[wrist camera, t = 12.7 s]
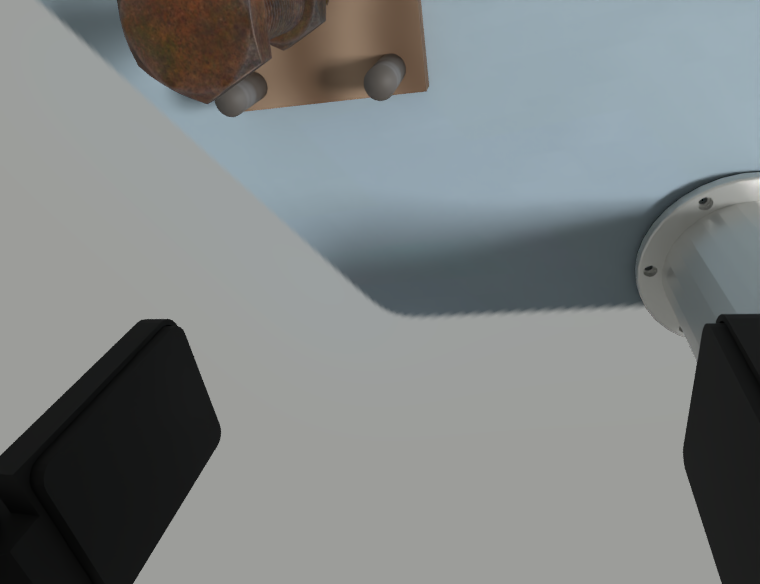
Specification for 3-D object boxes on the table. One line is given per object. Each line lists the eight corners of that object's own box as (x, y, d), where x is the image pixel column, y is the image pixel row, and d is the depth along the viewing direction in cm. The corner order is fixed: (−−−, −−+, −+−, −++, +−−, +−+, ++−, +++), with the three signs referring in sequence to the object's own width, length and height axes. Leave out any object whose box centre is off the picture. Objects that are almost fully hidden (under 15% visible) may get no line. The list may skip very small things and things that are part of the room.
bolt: (292, 57, 35) (177, 125, 22) (241, -22, 33) (83, 5, 20) (370, 1, 32) (288, 43, 20) (319, -88, 30) (194, -103, 18)
